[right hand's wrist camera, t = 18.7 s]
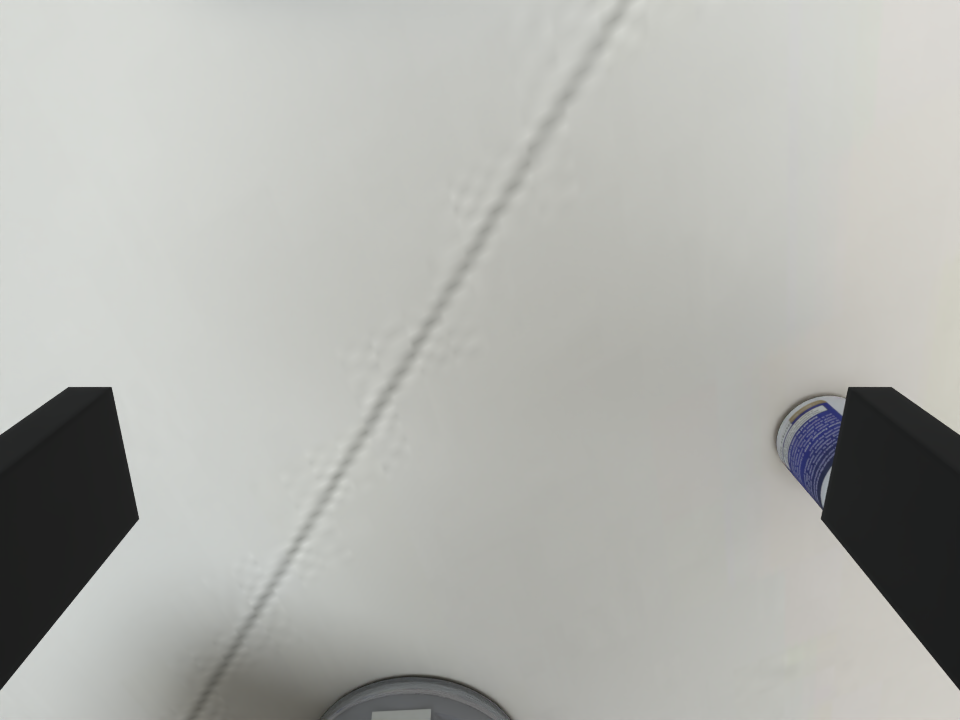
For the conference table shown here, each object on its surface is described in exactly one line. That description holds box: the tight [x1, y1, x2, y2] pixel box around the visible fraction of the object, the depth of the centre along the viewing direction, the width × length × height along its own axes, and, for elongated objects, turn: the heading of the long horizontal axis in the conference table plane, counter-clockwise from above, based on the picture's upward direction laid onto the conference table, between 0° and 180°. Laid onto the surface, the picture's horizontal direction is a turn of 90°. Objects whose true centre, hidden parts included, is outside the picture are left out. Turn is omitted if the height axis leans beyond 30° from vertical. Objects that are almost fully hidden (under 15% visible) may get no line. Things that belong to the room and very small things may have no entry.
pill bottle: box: [777, 396, 846, 510], centre depth 36 cm, size 5×5×9 cm
